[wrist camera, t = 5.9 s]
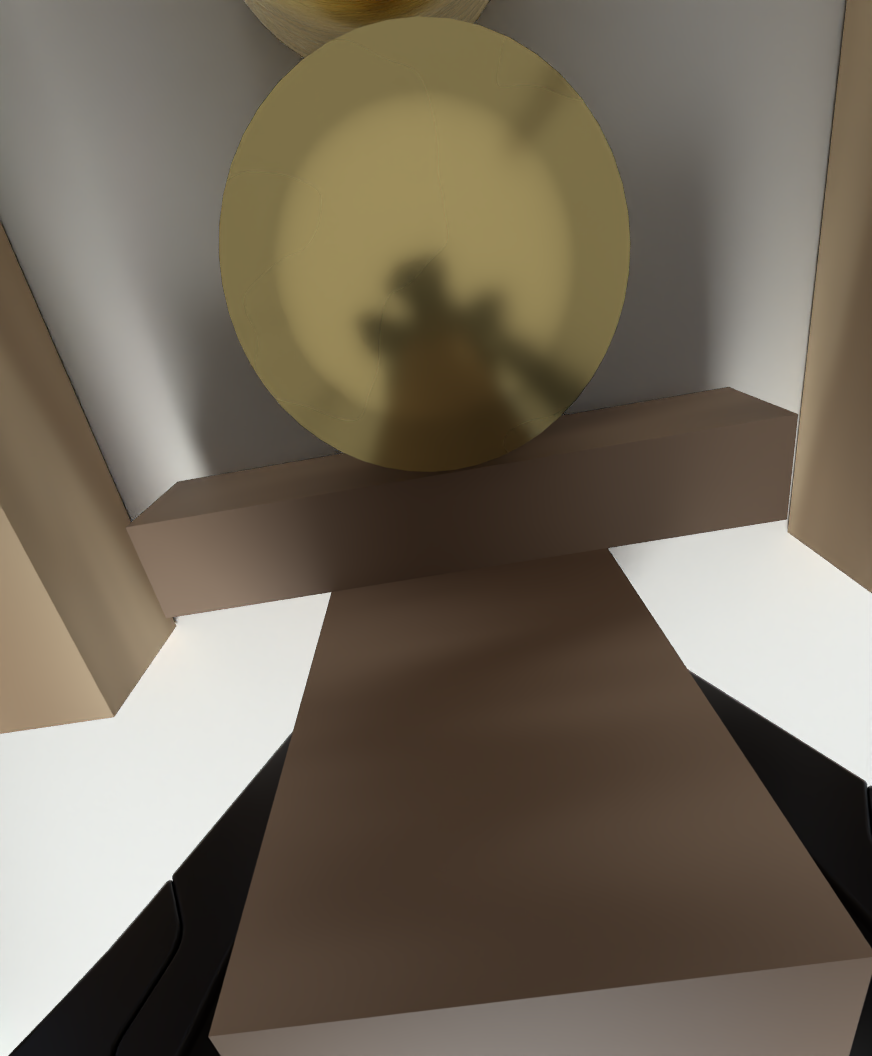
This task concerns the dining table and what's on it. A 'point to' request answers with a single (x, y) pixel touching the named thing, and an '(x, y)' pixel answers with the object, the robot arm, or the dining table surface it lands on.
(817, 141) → the dining table surface
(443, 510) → the brown t-shaped block
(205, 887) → the robot arm
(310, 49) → the puck
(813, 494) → the wooden blocks
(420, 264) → the puck
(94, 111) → the dining table surface
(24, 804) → the dining table surface
